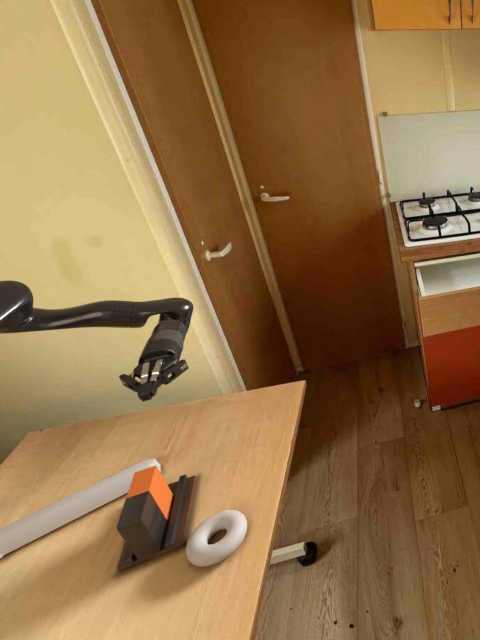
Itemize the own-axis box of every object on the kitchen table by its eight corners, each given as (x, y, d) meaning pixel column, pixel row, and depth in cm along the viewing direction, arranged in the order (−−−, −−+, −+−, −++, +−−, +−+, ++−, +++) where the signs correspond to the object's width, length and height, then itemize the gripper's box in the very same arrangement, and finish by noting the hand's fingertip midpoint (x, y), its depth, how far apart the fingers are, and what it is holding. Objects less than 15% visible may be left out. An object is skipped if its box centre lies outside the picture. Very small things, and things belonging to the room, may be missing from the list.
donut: (189, 583, 76) (252, 548, 81) (182, 572, 74) (246, 538, 79) (189, 535, 83) (247, 506, 88) (183, 524, 81) (242, 496, 86)
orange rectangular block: (146, 530, 83) (125, 498, 78) (153, 503, 87) (134, 472, 83) (168, 522, 84) (149, 490, 79) (174, 496, 89) (156, 465, 84)
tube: (155, 449, 96) (-9, 526, 80) (155, 458, 92) (-17, 541, 76) (164, 469, 97) (4, 549, 81) (165, 479, 93) (-3, 565, 77)
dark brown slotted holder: (119, 573, 77) (91, 537, 72) (141, 497, 90) (119, 462, 85) (184, 546, 81) (163, 511, 76) (197, 478, 94) (179, 443, 89)
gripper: (122, 346, 99) (97, 394, 86) (189, 331, 105) (176, 374, 91) (135, 370, 103) (113, 421, 89) (199, 354, 108) (188, 400, 94)
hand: (145, 397), depth 90 cm, fingers closed
